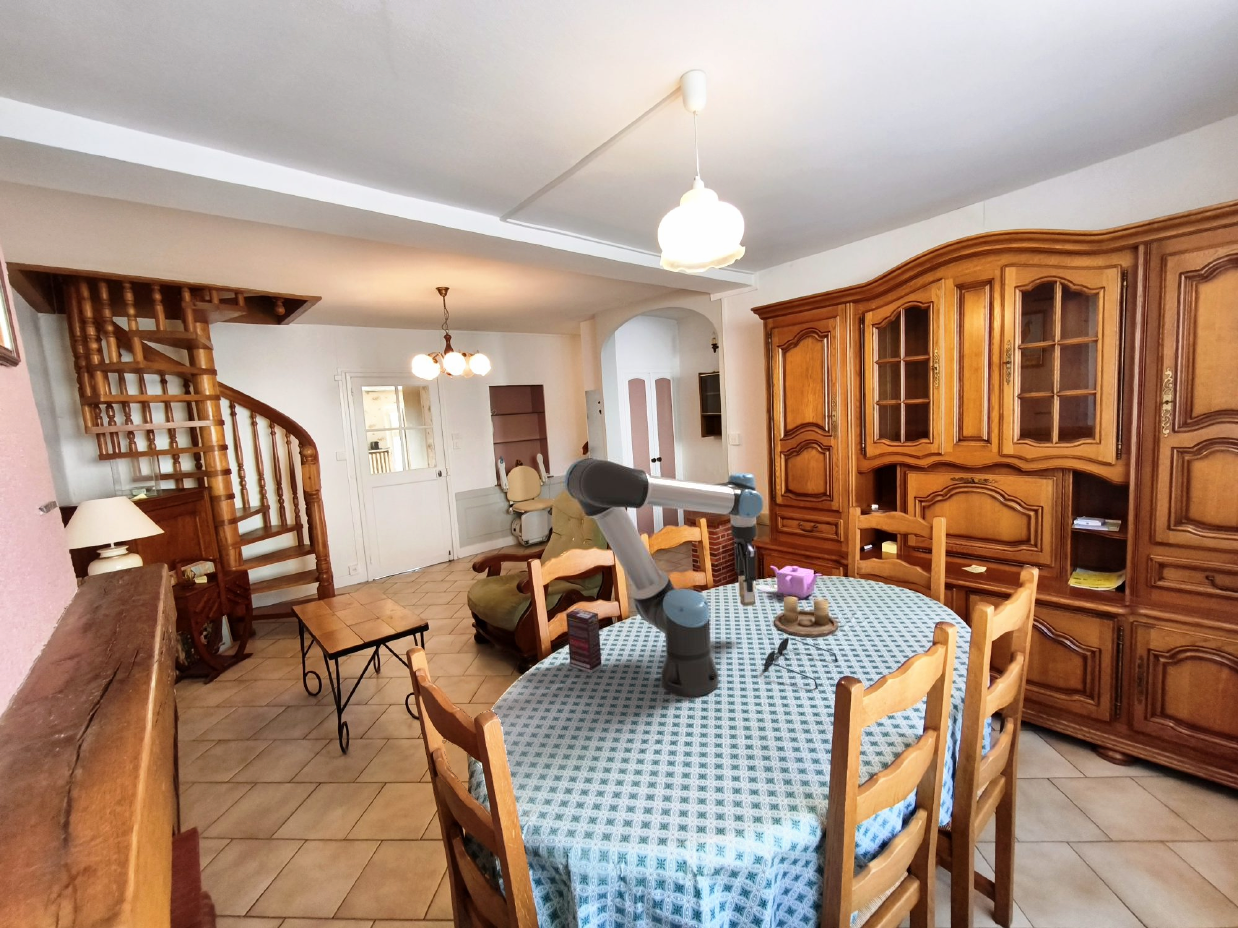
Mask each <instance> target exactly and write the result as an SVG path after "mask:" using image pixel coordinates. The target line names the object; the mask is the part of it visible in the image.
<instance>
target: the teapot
mask: <svg viewBox="0 0 1238 928" xmlns="http://www.w3.org/2000/svg"><path fill="white" fill-rule="evenodd" d="M770 568H771V569H773V571H774V573H775V579H776V584H777V585H776V586H777V587H776V588H777V593H778V594H782V597H783V598H785V597H790V596H792V597H796V598H797V599H798V601H801V600H804V599H805V598H806V597H807V596H809V595H811V594H812V593H813V592H814V591H815V585H816V584H817V583H816V582H817V579H818V578H819V577H820V576H823V575H822V574H821V573H815V574H814V569H809V568H803V567H799V566H795V565H793V566H791V565H786V566H784V567H783V568H782V569H778V568H777V567H776V566H773V565H770Z"/></svg>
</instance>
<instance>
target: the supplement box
mask: <svg viewBox="0 0 1238 928" xmlns="http://www.w3.org/2000/svg"><path fill="white" fill-rule="evenodd" d="M565 615H566V626H567V628H566V629H567V640H568V641H567V642H568V654H569V655H568V656H569V665H570V667H573V668H576V669H579V670H582V671H585V672H588V673H590V674H592V673H594V672H595V671H597V670H599V669H600V668H601V667H602V666H603V664H602V651H601V638H600V626H599V625H600V624H599V613H598V612H593V611H588V610H585V609H581V608H574V609H572V610H570V611H568V612H566V613H565Z"/></svg>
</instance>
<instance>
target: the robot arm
mask: <svg viewBox="0 0 1238 928" xmlns="http://www.w3.org/2000/svg"><path fill="white" fill-rule="evenodd" d="M564 484H565V489H566V491H567V492H568V494H569V495H570V496H571V497H572V498H573V499H575V500H577V502H578V504H579V506H580V507H581V510H583V512H584V514H585V517H587V518H592V519H594V521H595V522H596V524H597V525H598V528H599V530H600V531H601V532H602V535H603V537H604V538H605V540H606V541H607V543H608V545H609V547H610V548H611V550H612V552H613V554H614V555H615V557H616V559H617V561H618V562H619V564H620V566H621V568H622V570H623V572H624V573H625V575H626V577H627V578H628V580H629V582H630V583H631V586H632V588H631V590H630V591H631V592H630V593H631V597H632V598H633V606H634V608H635V610H636V612H637V614H638V616H640V617H641V618H642V620H644V621H645V622H646V623H648V624H650V625H652V626H653V627H654V628H656V629H657V630H658V631H660V632H662V633H663V634H664V636H665V637H664V638H665V652H666V653H665V657H664V661H663V665H662V668H661V673H660V679H661V680H660V681H661V686H662V687H663V688H664V689H665V690H666V691H667V692H669V693H671V694H674V695H677V696H682V697H700V696H704V695H707V694H710V693H712V692H714V691H715V690H716V689H717V688H718V686H719V683H720V681H719V680H720V679H719V678H720V677H719V671H718V669H717V666H716V662H715V661H714V658H713V656H712V650H711V629H710V625H711V624H710V616H711V614H710V607H709V604H708V603H709V602H708V599H707V598H706V597H705V596H704V595H703V594H702V593H700V592H699V591H696V590H693V589H692V590H690V589H688V588H678V589H677V588H675V586H674V584H673V582H672V580H671V578H670V576H669V575H668V574H667V573H666V572H665V571H660V570H659V567H658V566H657V564H656V562H655V561H654V559H653V557H652V554H651V553H650V551H649V549H648V547H647V546H646V544H645V542H644V540H643V539H642V537H641V535H640V533H639V531H638V529H637V527H636V526H635V524H634V522H633V520H632V518H631V516H630V514H629V513H628V511H627V509H626V508H628V509H641V508H643V507H644V506H648V507H659V508H668V509H677V510H683V511H684V510H685V511H693V512H694V511H695V512H703V513H713V514H721V515H728V516H730V524H731V525H730V531H731V532H730V533H731V534H730V535H731V537H732V538H734V539H736V540H733V546H734V547H733V549H734V565H735V566H734V567H735V568H734V570H735V572H737V575H738V576H737V577H738V582H739V581H740V580H742V579H745V580H743V582H744V602H754V592H755V588H754V589H753V581H754V582H756V581H757V561H756V560H757V549H754V544H753V542H752V539H755V538H756V537H757V536H758V535H757V533H758V530H757V529H758V528H757V525H756V523H757V517H758V516H759V515H760V514H761V513H762V511H763V508H764V499H763V496H762V495H761V494H760V493H759V492H758V491H756V481H755V476H754V474H752V473H749V472H736V473H732V474H729V476H728V481H725V482H719V483H706V482H705V483H704V482H699V481H692V480H684V479H679V478H673V477H672V478H671V477H664V476H657V475H651V474H650V475H649V474H648V473H647V471H646V470H643V469H639V468H638V469H637V468H633V467H629V466H626V465H622V464H620V463H616V462H614V461H609V460H603V459H597V458H595V457H585V458H584V457H583V458H580V459H577V460H576V461H574V462H573V463H572V464H570V466H569V467H568V469H567V471H566V474H565V477H564ZM738 596H739V598H740V586H739V585H738Z"/></svg>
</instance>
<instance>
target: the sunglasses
mask: <svg viewBox="0 0 1238 928" xmlns="http://www.w3.org/2000/svg"><path fill="white" fill-rule="evenodd" d="M790 639H791V640H793V641H795V642H799V643H801V644H804V645H807V646H810V647H813V648H815V649H819V650H821V651H824V652H827V653H830V654H832V655H834V660H835V662H837V663H838V658H837V654H836V653H835V652H832V651H831V650H827V649H825V648H821V647H819V646H816V645H813V644H811V643H807V642H804V641H801V640H799V639H794V638H791V637H789V636H786V637H785V638H784V639H783V640H781V641H780V643H779V645H778V647H777V651H776V650H771V651H770V652H769V653H768V654H767V656H766V658H765V661H764V666H763V671H764V672H767V671H768V670H769V668H770V667H771V666H772V665H774V666H777V667H779V668H782V669H784V670H787V671H790V672H792V673H795V674H796V675H800V676H802V677H805V678H807V679H810V680H813V682H814V685H815V689H816V688H817V689H819V688H818V684H817V681H816V679H815V678H814V677H812V676H811V677H810V676H808V675H806V674H804V673H801V672H797V671H795V670H793V669H791V668H788V667H785V666H782V665H780V664H777V663H775V660H776V661H777V659H779V658H780V657H781V656H783V654H784V651H785V650H786V649H787V648H788V646H789V641H790Z"/></svg>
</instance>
